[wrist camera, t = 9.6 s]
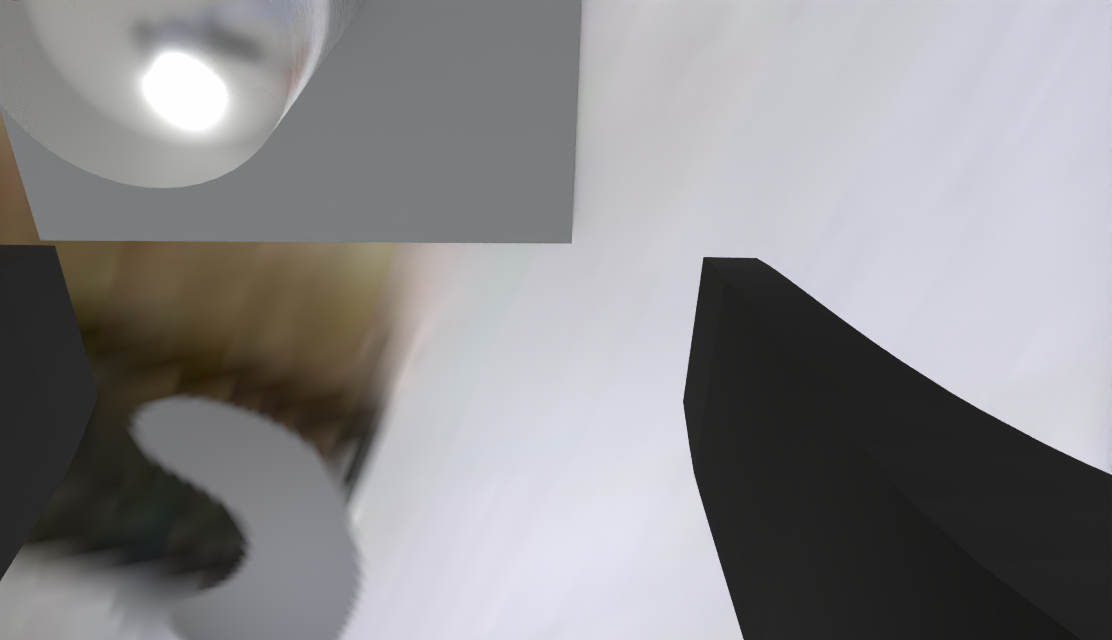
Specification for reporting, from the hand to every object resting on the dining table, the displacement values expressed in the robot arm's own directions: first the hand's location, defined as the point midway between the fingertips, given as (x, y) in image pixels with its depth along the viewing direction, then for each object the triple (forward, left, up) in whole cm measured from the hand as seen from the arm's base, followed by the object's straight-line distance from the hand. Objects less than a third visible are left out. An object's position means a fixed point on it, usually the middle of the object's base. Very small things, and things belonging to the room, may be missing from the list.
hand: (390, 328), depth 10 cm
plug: (+3, -2, -10) cm, 11 cm away
